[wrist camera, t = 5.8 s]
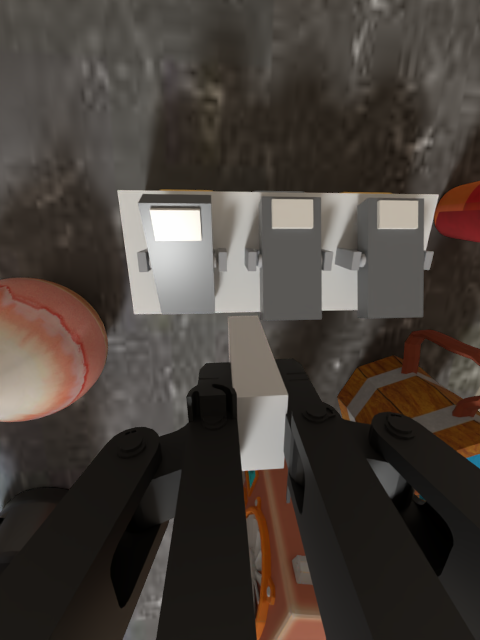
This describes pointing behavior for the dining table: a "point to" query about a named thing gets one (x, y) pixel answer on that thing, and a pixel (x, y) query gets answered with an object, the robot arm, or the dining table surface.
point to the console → (243, 247)
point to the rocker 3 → (390, 257)
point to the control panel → (278, 561)
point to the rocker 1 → (180, 251)
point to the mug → (416, 395)
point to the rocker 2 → (290, 258)
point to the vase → (46, 348)
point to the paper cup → (460, 213)
